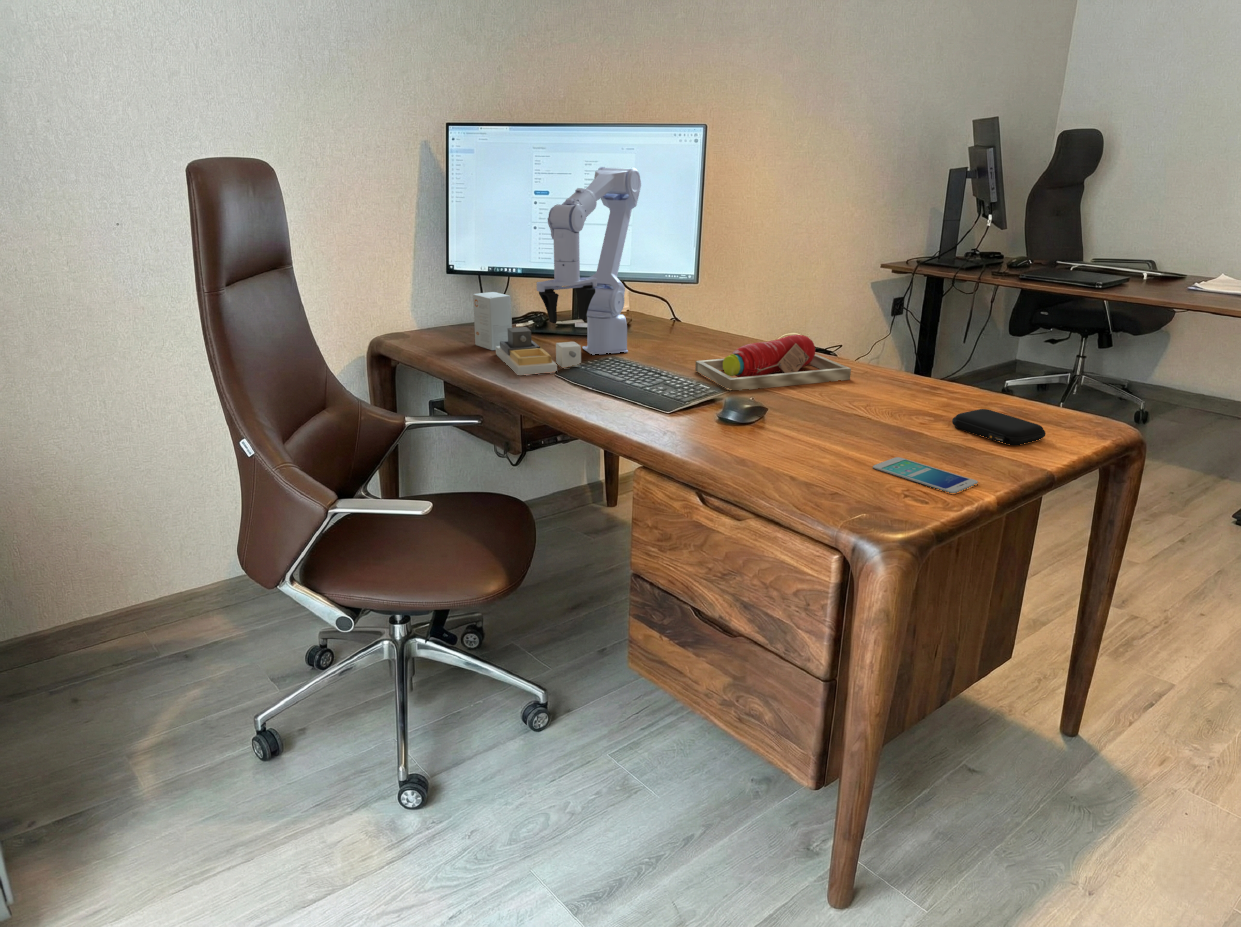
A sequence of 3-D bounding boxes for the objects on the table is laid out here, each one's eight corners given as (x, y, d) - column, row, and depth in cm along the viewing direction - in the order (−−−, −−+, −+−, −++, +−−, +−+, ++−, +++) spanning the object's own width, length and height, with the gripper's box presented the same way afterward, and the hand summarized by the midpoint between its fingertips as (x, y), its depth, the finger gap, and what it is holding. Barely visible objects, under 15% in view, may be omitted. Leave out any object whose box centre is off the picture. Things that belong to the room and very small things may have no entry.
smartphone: (897, 456, 152) (980, 481, 141) (897, 461, 153) (979, 486, 142) (870, 466, 148) (953, 492, 137) (870, 470, 148) (953, 497, 137)
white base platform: (532, 351, 224) (531, 337, 223) (557, 372, 205) (556, 357, 204) (496, 354, 221) (495, 340, 220) (518, 376, 202) (517, 360, 201)
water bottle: (835, 344, 203) (755, 361, 189) (827, 376, 207) (749, 396, 193) (795, 325, 211) (716, 341, 197) (789, 357, 215) (711, 375, 201)
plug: (574, 362, 215) (574, 341, 213) (583, 368, 209) (583, 347, 207) (556, 363, 213) (555, 342, 212) (564, 370, 207) (564, 348, 206)
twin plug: (526, 347, 220) (525, 326, 218) (533, 353, 214) (532, 332, 212) (508, 348, 218) (507, 328, 217) (514, 354, 213) (514, 333, 211)
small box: (513, 347, 229) (511, 295, 224) (491, 350, 225) (489, 298, 221) (496, 341, 235) (493, 291, 230) (474, 345, 231) (472, 293, 226)
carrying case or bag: (941, 429, 169) (1009, 452, 157) (944, 413, 168) (1012, 435, 156) (981, 420, 174) (1049, 442, 162) (983, 405, 173) (1052, 425, 161)
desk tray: (808, 361, 216) (809, 351, 215) (850, 379, 201) (851, 368, 200) (695, 371, 206) (695, 361, 206) (729, 391, 191) (730, 379, 190)
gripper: (585, 256, 210) (586, 314, 215) (529, 260, 203) (531, 320, 208) (601, 259, 205) (601, 319, 209) (544, 264, 197) (545, 326, 202)
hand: (567, 320), depth 208 cm, fingers open, 7 cm apart
